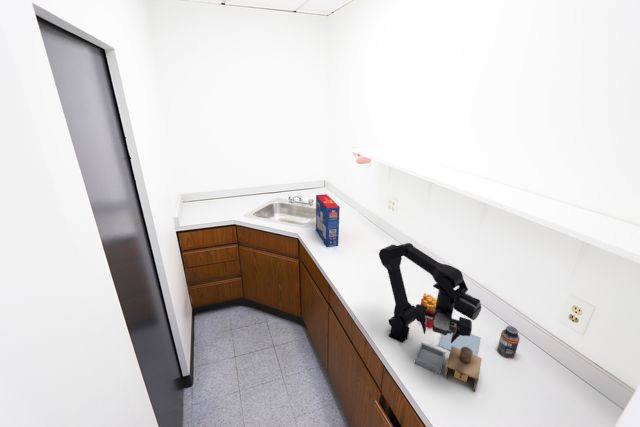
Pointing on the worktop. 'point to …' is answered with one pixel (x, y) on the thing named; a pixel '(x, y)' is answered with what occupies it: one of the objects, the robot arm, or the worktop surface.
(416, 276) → the worktop surface
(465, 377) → the letter cube
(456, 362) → the brown knobbed box
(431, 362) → the tray
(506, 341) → the supplement bottle
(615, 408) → the worktop surface
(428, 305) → the french fries
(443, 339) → the mat
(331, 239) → the pasta box
